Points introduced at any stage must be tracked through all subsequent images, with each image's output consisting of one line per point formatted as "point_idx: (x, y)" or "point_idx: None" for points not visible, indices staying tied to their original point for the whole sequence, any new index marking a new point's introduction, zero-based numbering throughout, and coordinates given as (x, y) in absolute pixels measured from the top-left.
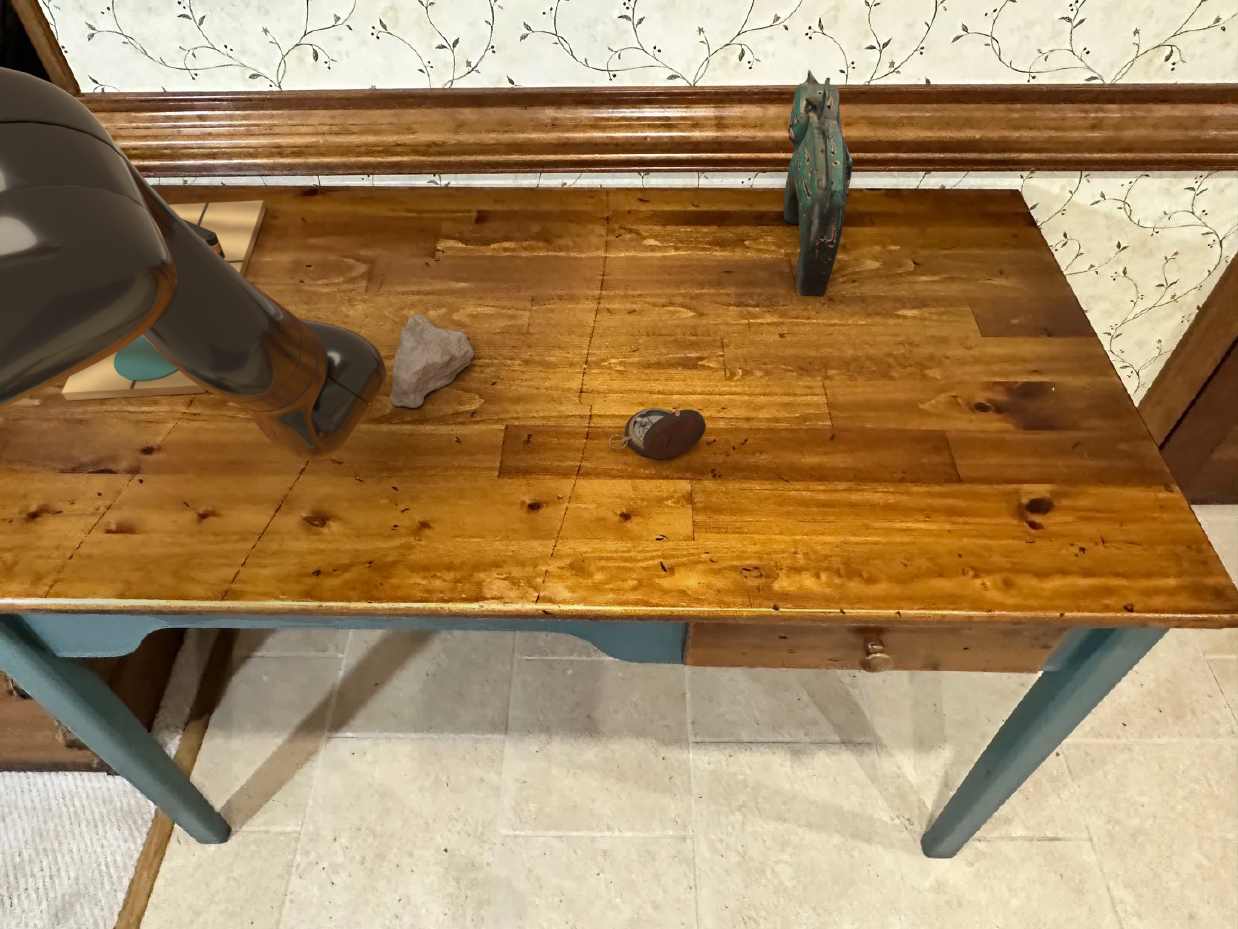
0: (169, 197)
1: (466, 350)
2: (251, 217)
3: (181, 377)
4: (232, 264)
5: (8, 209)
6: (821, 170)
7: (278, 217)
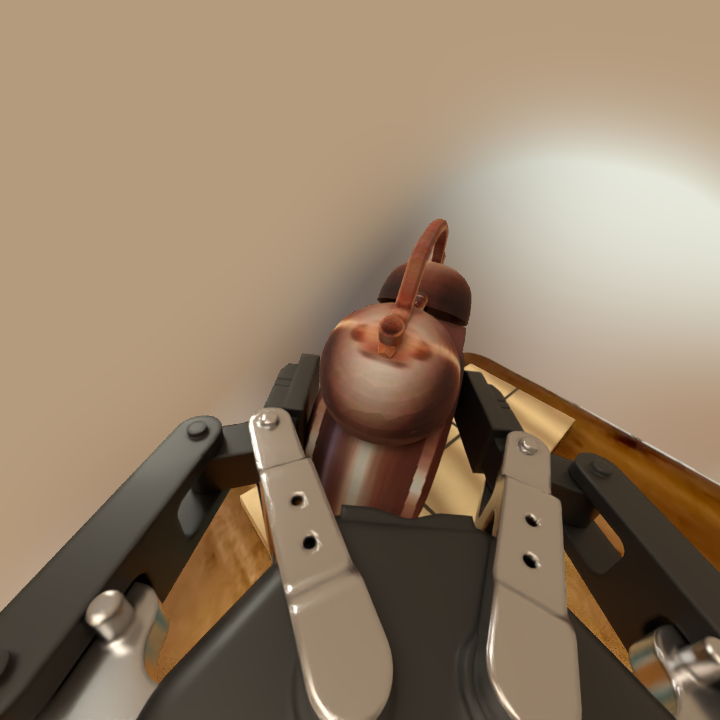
0: (485, 365)
1: None
2: (556, 429)
3: None
4: None
5: None
6: None
7: (582, 445)
